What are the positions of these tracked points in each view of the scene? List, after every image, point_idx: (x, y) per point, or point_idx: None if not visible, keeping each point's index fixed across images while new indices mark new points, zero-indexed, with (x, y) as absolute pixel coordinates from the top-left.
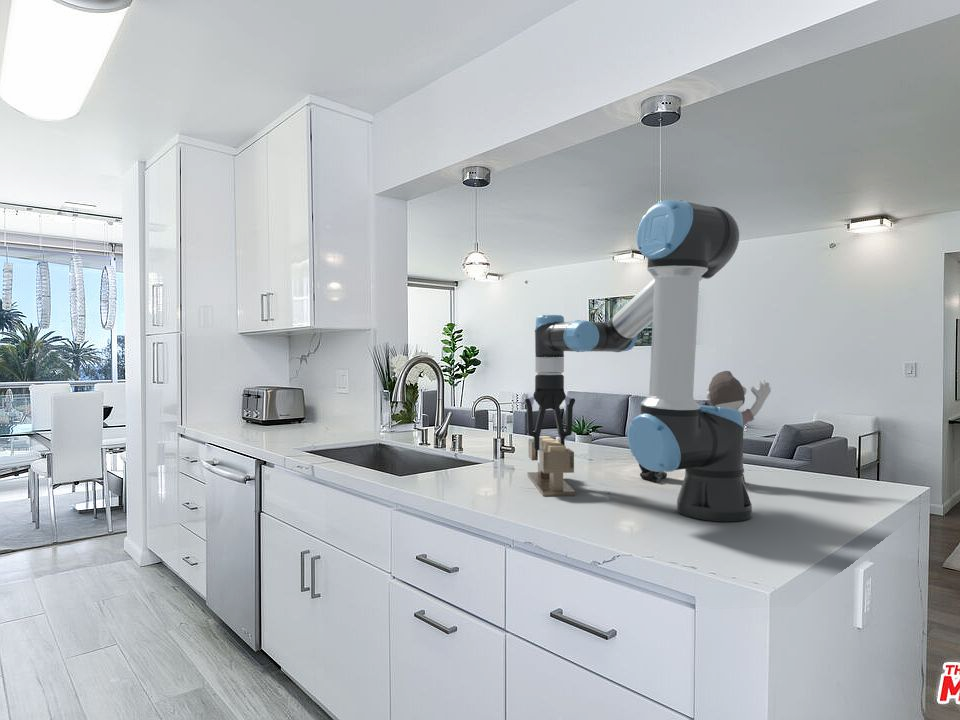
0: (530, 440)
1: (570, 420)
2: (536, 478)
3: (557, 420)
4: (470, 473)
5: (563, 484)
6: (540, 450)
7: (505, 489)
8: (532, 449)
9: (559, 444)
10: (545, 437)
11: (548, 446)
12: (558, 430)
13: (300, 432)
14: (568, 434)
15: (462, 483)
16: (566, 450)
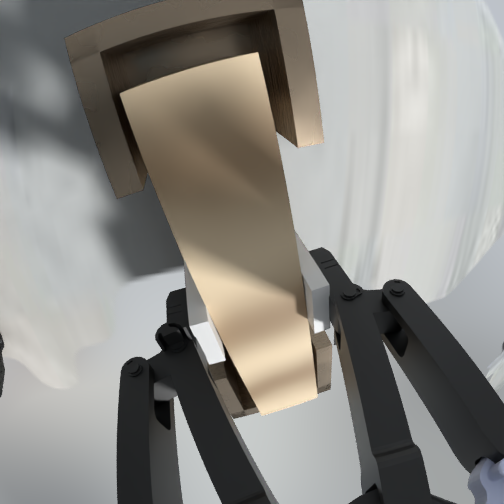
0: (329, 372)
1: (128, 452)
2: None
3: (234, 437)
4: (416, 287)
5: None
6: (316, 99)
7: (367, 109)
8: None
9: (182, 196)
10: (275, 393)
11: (268, 106)
12: (214, 384)
13: None
14: (141, 362)
15: (452, 180)
16: (124, 133)
